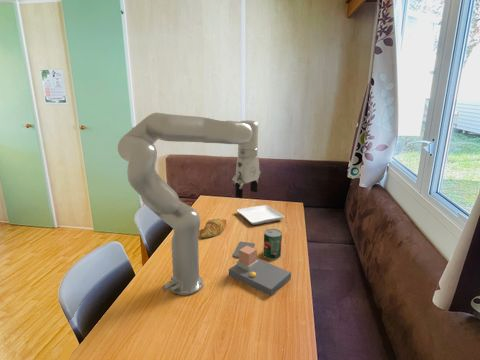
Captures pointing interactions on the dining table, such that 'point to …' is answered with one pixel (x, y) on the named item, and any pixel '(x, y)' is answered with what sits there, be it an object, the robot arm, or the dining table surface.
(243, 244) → the smartphone
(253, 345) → the dining table surface
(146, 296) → the dining table surface
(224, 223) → the croissant
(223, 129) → the robot arm
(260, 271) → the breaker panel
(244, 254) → the block
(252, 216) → the salad plate
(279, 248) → the canned tomato
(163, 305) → the dining table surface
